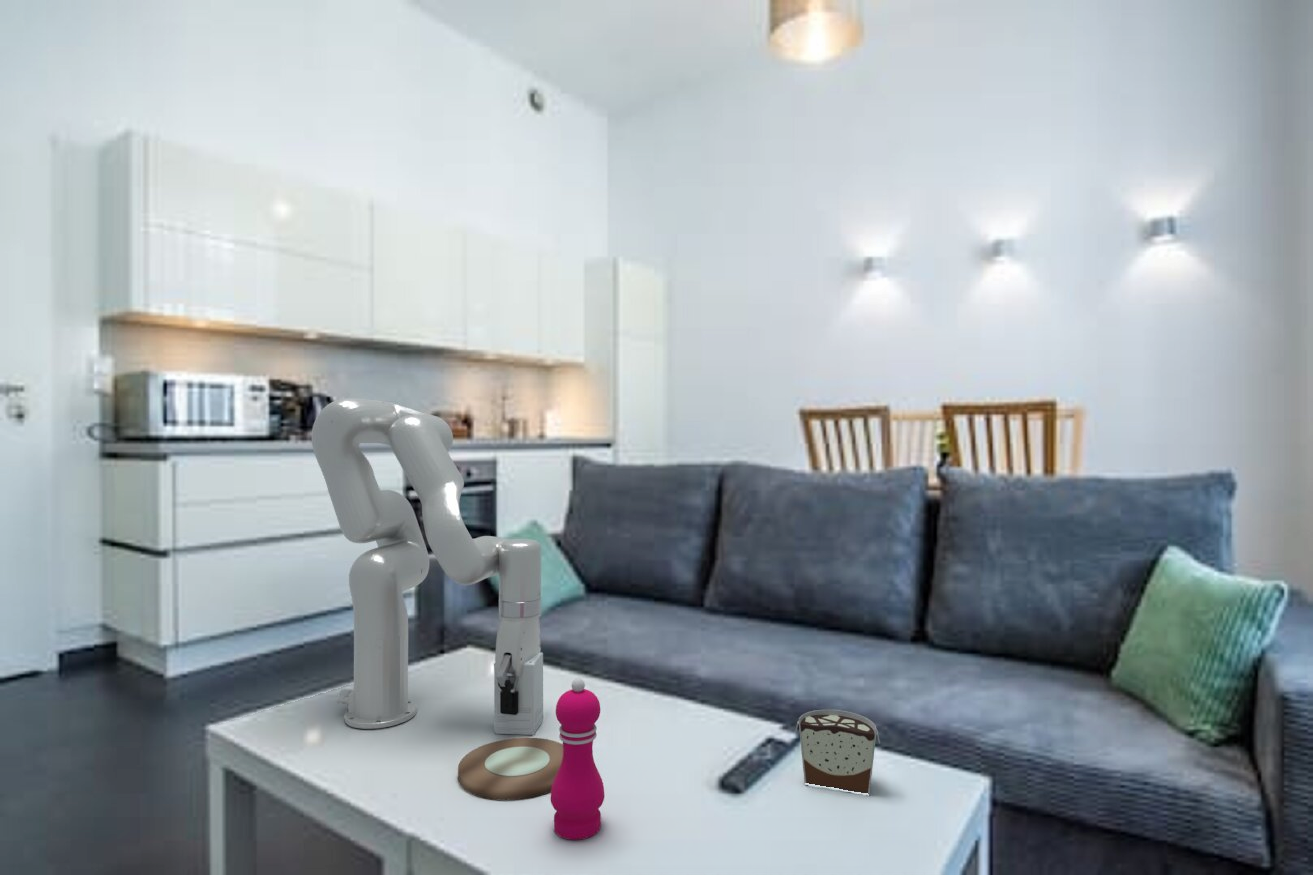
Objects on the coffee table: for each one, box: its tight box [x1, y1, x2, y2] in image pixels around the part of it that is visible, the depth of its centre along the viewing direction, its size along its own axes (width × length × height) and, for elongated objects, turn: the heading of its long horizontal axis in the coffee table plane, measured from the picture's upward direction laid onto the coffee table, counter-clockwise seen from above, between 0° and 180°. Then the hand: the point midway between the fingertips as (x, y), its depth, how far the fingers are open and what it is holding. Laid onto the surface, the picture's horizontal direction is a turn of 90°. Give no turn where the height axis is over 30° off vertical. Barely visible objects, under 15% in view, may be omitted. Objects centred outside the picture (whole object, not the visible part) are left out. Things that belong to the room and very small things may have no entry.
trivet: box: [457, 737, 563, 801], centre depth 112 cm, size 18×18×2 cm
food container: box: [795, 709, 881, 795], centre depth 109 cm, size 12×6×10 cm, turn 71°
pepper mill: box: [550, 677, 605, 841], centre depth 96 cm, size 7×7×20 cm
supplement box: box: [493, 652, 544, 736], centre depth 129 cm, size 7×7×13 cm
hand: (519, 704), depth 129 cm, fingers closed on supplement box, 8 cm apart
